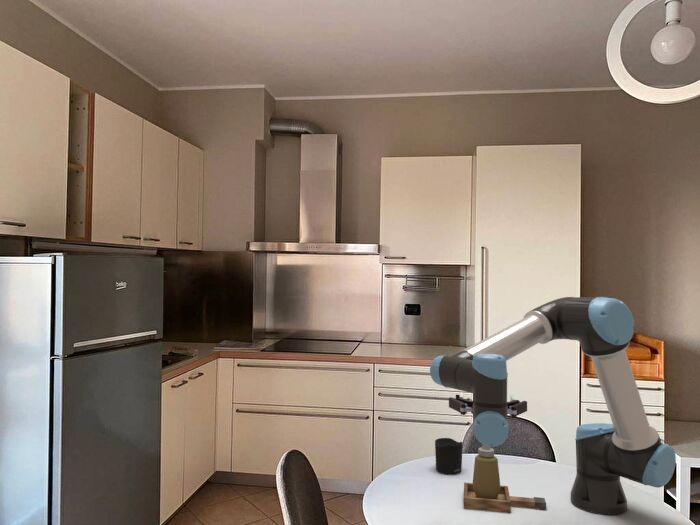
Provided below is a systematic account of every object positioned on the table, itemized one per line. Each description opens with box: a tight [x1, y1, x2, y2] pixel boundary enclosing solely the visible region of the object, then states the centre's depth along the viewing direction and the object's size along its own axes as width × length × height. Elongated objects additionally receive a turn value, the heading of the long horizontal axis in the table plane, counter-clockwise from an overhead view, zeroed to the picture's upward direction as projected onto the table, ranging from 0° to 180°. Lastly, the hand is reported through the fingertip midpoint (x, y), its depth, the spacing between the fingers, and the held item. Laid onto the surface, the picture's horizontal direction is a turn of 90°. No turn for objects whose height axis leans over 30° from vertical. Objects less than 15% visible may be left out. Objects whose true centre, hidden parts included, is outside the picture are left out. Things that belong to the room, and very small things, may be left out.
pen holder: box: [434, 437, 463, 475], centre depth 187 cm, size 9×9×10 cm
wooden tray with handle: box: [463, 481, 547, 514], centre depth 158 cm, size 23×13×3 cm, turn 77°
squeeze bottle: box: [472, 443, 501, 500], centre depth 160 cm, size 8×8×18 cm
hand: (486, 398), depth 152 cm, fingers open, 13 cm apart
